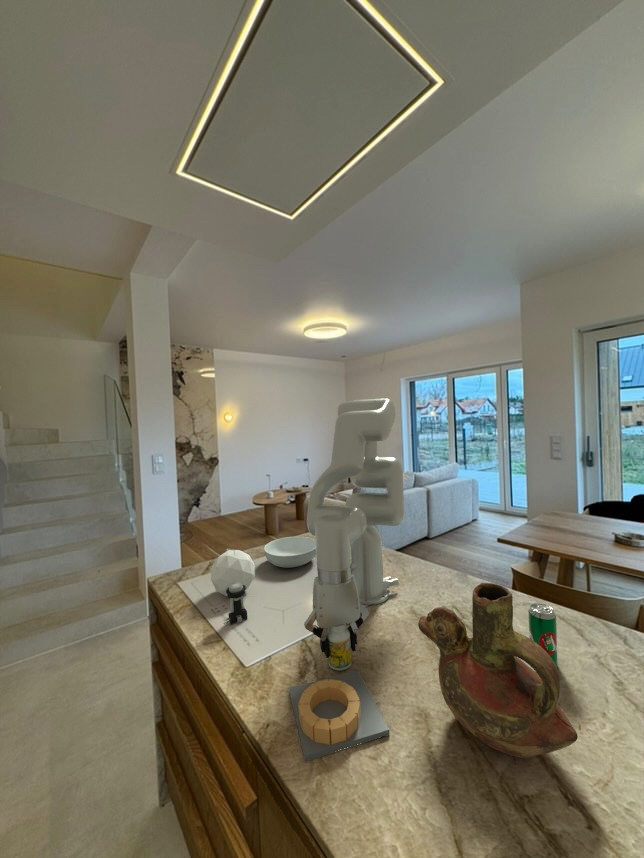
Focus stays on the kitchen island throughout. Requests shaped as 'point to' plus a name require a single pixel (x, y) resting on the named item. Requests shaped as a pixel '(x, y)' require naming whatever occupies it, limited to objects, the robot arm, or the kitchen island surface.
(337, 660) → the supplement bottle
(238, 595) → the push button
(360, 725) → the plate
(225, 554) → the geodesic sphere
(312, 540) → the serving bowl
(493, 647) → the ceramic vessel
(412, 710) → the kitchen island surface
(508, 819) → the kitchen island surface
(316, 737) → the collar
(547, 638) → the soda can
